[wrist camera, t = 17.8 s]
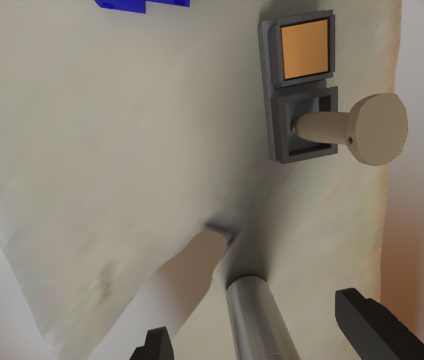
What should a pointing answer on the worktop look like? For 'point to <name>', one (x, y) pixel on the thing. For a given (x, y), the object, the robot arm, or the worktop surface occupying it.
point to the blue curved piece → (136, 4)
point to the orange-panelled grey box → (294, 91)
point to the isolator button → (304, 49)
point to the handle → (360, 128)
